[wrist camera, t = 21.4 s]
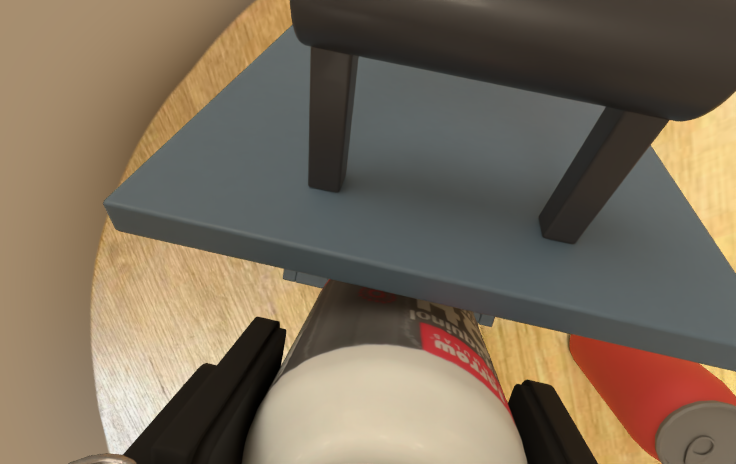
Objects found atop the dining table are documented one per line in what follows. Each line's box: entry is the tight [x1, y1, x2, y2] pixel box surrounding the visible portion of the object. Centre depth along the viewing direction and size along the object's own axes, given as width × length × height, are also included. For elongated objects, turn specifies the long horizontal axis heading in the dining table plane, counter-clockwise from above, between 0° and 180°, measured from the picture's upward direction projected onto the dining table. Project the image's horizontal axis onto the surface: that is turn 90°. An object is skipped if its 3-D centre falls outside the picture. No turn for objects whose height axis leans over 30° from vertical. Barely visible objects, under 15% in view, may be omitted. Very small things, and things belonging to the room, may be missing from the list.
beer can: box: [570, 334, 736, 464], centre depth 28 cm, size 7×7×12 cm
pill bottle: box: [242, 279, 527, 464], centre depth 9 cm, size 5×5×10 cm
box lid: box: [103, 0, 736, 372], centre depth 11 cm, size 15×13×5 cm
